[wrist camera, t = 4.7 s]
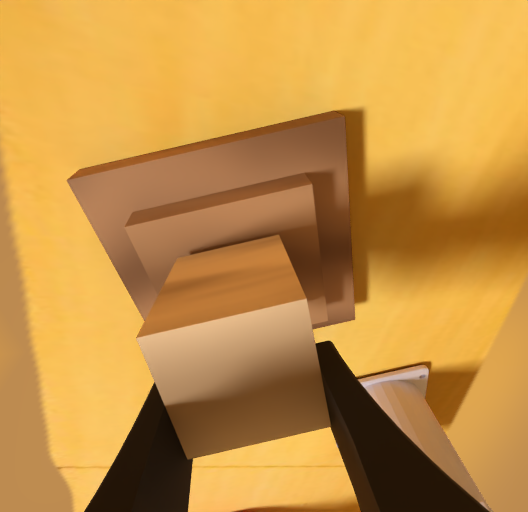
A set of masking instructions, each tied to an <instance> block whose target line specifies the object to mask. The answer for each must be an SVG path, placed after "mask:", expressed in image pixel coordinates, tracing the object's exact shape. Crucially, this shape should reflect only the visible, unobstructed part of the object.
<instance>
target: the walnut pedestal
mask: <svg viewBox="0 0 528 512" xmlns="http://www.w3.org/2000/svg"><path fill="white" fill-rule="evenodd" d="M67 182H68V184H69V186H70V187H71V189H72V191H73V193H74V195H75V196H76V198H77V200H78V202H79V204H80V205H81V207H82V209H83V211H84V213H85V214H86V216H87V218H88V220H89V222H90V224H91V225H92V227H93V229H94V231H95V233H96V234H97V236H98V238H99V240H100V242H101V243H102V245H103V247H104V249H105V251H106V252H107V254H108V256H109V258H110V260H111V262H112V263H113V265H114V267H115V269H116V271H117V272H118V274H119V276H120V278H121V280H122V281H123V283H124V285H125V287H126V289H127V290H128V292H129V294H130V296H131V298H132V299H133V301H134V303H135V305H136V307H137V309H138V310H139V312H140V314H141V316H142V318H143V319H144V321H145V320H146V318H147V316H148V314H149V312H150V310H151V308H152V306H153V304H154V302H155V300H156V298H157V297H158V295H159V293H160V291H161V289H162V287H163V285H164V283H165V281H166V279H167V277H168V275H169V273H170V271H171V269H172V267H173V265H174V263H175V262H176V260H177V258H180V257H184V256H188V255H193V254H197V253H201V252H205V251H210V250H214V249H218V248H223V247H227V246H231V245H236V244H240V243H244V242H249V241H253V240H257V239H262V238H266V237H270V236H275V235H279V236H280V239H281V241H282V243H283V245H284V248H285V250H286V252H287V255H288V257H289V259H290V262H291V264H292V266H293V268H294V271H295V273H296V275H297V278H298V280H299V282H300V285H301V287H302V289H303V292H304V294H305V296H306V298H307V303H308V309H309V314H310V319H311V324H312V329H316V328H320V327H325V326H329V325H334V324H338V323H342V322H347V321H351V320H355V306H354V287H353V267H352V247H351V228H350V208H349V188H348V169H347V149H346V129H345V116H344V115H342V114H340V113H338V112H336V111H331V112H326V113H322V114H318V115H313V116H309V117H305V118H300V119H296V120H292V121H287V122H283V123H279V124H274V125H270V126H266V127H261V128H257V129H253V130H248V131H244V132H240V133H235V134H231V135H227V136H222V137H218V138H214V139H209V140H205V141H201V142H197V143H192V144H188V145H184V146H179V147H175V148H171V149H166V150H162V151H158V152H153V153H149V154H145V155H140V156H136V157H132V158H127V159H123V160H119V161H114V162H110V163H106V164H101V165H97V166H93V167H88V168H84V169H80V170H78V171H77V172H76V173H75V174H74V175H72V176H71V177H70V178H69V179H68V180H67Z"/></svg>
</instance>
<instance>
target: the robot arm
mask: <svg viewBox="0 0 528 512" xmlns="http://www.w3.org/2000/svg"><path fill="white" fill-rule="evenodd" d="M315 345H316V350H317V355H318V361H319V366H320V371H321V376H322V382H323V387H324V392H325V397H326V402H327V408H328V413H329V418H330V423H331V430H332V432H333V435H334V438H335V440H336V444H337V447H338V448H339V451H340V454H341V456H342V459H343V462H344V464H345V467H346V470H347V472H348V475H349V477H350V480H351V483H352V485H353V488H354V491H355V494H356V497H357V500H358V503H359V507H360V510H361V512H493V511H492V510H491V508H490V507H489V506H488V504H487V503H486V501H485V500H484V498H483V496H482V494H481V493H480V492H479V489H478V488H477V486H476V485H475V483H474V481H473V479H472V478H471V476H470V474H469V473H468V471H467V469H466V468H465V466H464V464H463V462H462V461H461V459H460V457H459V456H458V454H457V452H456V451H455V449H454V447H453V446H452V444H451V442H450V441H449V439H448V437H447V436H446V434H445V432H444V430H443V429H442V427H441V425H440V424H439V422H438V420H437V419H436V417H435V415H434V414H433V412H432V410H431V409H430V407H429V405H428V404H427V402H426V400H425V396H426V389H427V382H428V375H429V369H428V368H427V366H426V365H419V366H415V367H410V368H406V369H401V370H397V371H393V372H388V373H384V374H379V375H375V376H370V377H366V378H362V379H357V378H356V377H355V375H354V374H353V373H352V371H351V370H350V369H349V367H348V366H347V364H346V363H345V362H344V360H343V359H342V357H341V356H340V354H339V353H338V351H337V349H336V348H335V346H334V344H333V343H332V342H331V341H325V342H320V343H316V344H315ZM192 462H193V459H187V457H186V455H185V452H184V450H183V448H182V445H181V443H180V440H179V438H178V436H177V433H176V431H175V429H174V426H173V424H172V422H171V419H170V417H169V414H168V412H167V410H166V407H165V405H164V403H163V400H162V398H161V396H160V393H159V391H158V389H157V386H156V384H155V382H154V384H153V386H152V388H151V390H150V392H149V394H148V397H147V399H146V401H145V403H144V405H143V407H142V409H141V411H140V413H139V415H138V417H137V419H136V421H135V423H134V425H133V427H132V429H131V431H130V433H129V434H128V436H127V438H126V440H125V442H124V444H123V446H122V448H121V450H120V451H119V453H118V455H117V457H116V459H115V461H114V462H113V464H112V466H111V468H110V469H109V471H108V473H107V474H106V476H105V478H104V480H103V481H102V483H101V485H100V487H99V488H98V490H97V492H96V493H95V495H94V497H93V498H92V500H91V501H90V503H89V505H88V506H87V508H86V509H85V511H84V512H188V504H189V493H190V483H191V473H192Z"/></svg>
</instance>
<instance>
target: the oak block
mask: <svg viewBox="0 0 528 512" xmlns="http://www.w3.org/2000/svg"><path fill="white" fill-rule="evenodd" d="M136 339H137V341H138V344H139V346H140V348H141V351H142V353H143V355H144V358H145V360H146V363H147V365H148V367H149V370H150V372H151V374H152V377H153V379H154V381H155V384H156V386H157V389H158V391H159V393H160V396H161V398H162V400H163V403H164V405H165V407H166V410H167V412H168V414H169V417H170V419H171V422H172V424H173V426H174V429H175V431H176V433H177V436H178V438H179V440H180V443H181V445H182V448H183V450H184V452H185V455H186V457H187V459H193V458H197V457H202V456H206V455H210V454H215V453H219V452H223V451H228V450H232V449H236V448H241V447H245V446H249V445H254V444H258V443H262V442H267V441H271V440H275V439H280V438H284V437H288V436H293V435H297V434H301V433H306V432H310V431H314V430H319V429H323V428H327V427H331V423H330V418H329V413H328V408H327V402H326V397H325V392H324V387H323V382H322V376H321V371H320V366H319V361H318V355H317V350H316V345H315V340H314V335H313V329H312V324H311V319H310V314H309V309H308V303H307V298H306V296H305V294H304V292H303V289H302V287H301V285H300V282H299V280H298V278H297V275H296V273H295V271H294V268H293V266H292V264H291V262H290V259H289V257H288V255H287V252H286V250H285V248H284V245H283V243H282V241H281V239H280V236H279V235H275V236H270V237H266V238H262V239H257V240H253V241H249V242H244V243H240V244H236V245H231V246H227V247H223V248H218V249H214V250H210V251H205V252H201V253H197V254H193V255H188V256H184V257H180V258H177V260H176V262H175V263H174V265H173V267H172V269H171V271H170V273H169V275H168V277H167V279H166V281H165V283H164V285H163V287H162V289H161V291H160V293H159V295H158V297H157V298H156V300H155V302H154V304H153V306H152V308H151V310H150V312H149V314H148V316H147V318H146V320H145V322H144V324H143V326H142V328H141V330H140V332H139V334H138V335H137V337H136Z"/></svg>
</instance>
